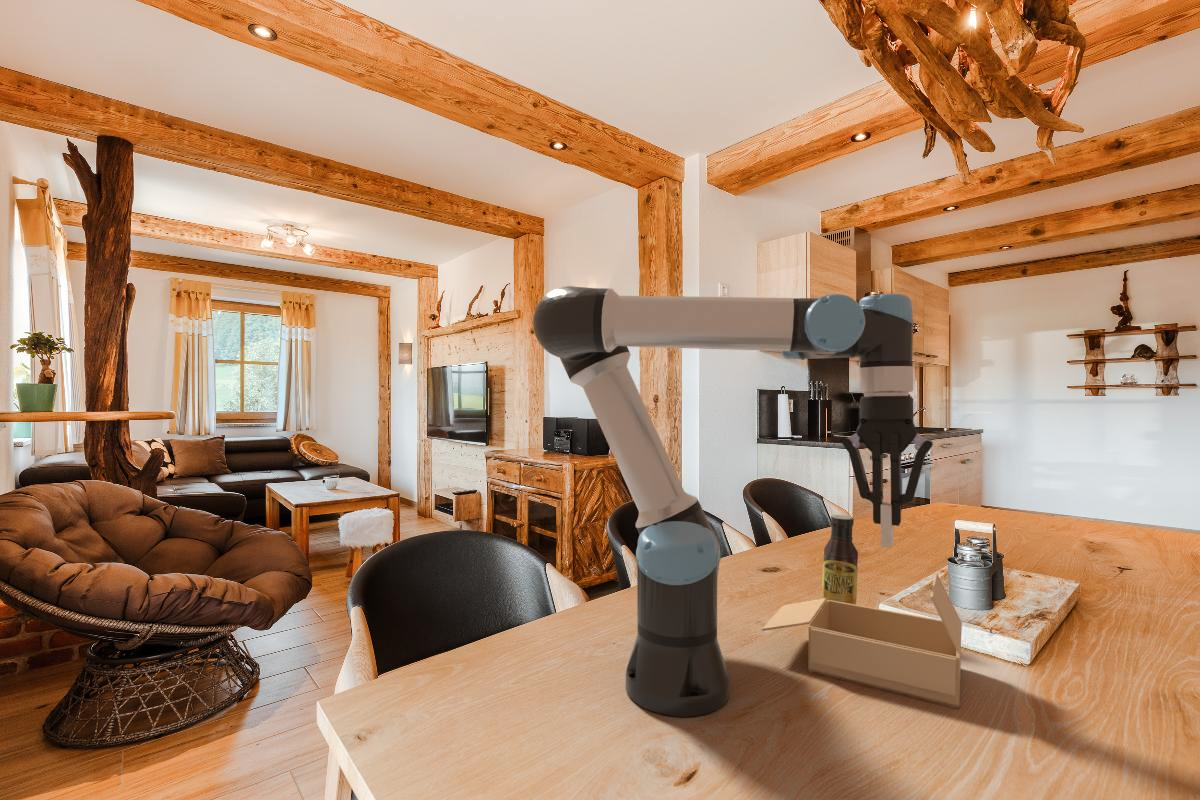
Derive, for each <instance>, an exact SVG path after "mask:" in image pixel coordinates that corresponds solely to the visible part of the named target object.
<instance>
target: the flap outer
mask: <svg viewBox="0 0 1200 800" xmlns="http://www.w3.org/2000/svg"><path fill="white" fill-rule="evenodd" d="M949 596H950V595H948V592H947V591H946V588H945V586H944V584H943V583H942V580H941V578H940V576H939V575H938V572H937V573H934V577H933V583H932V588H931V592H930V599H931V601H932V604H933V606H934V608H935V610H936V611H937V613H938V615H939V617H940V620H942V622H943V624H944V626H945V628H946V630H947V632H948V634H949V636H950V638H951V640H952V642H953V644H954V646H955V648H956V650H957V652H958V654H960V653H961V654H962V646H961V645H962V631H963V630H962V629H963V628H962V627H963V622H962V621H961V618H960V617H959V616H960V615H958V612H957V611H956V609H955V606H954V604H953V602H952V601H951V598H950V597H949Z"/></svg>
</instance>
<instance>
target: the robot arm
mask: <svg viewBox="0 0 1200 800" xmlns="http://www.w3.org/2000/svg"><path fill="white" fill-rule="evenodd" d="M533 313H534V314H533V317H532V319H533V320H532V328H533V332H534V335H535V339H537V342H538V344H540V346H541V347H542V348H543V349H544V350H545V351H546V352H548V353H549V354H550V355H553V356H554V357H557V358H559V359H560V362H561V363H562V366H563V368H564V371H565V372H566V374H567V377H568V379H569V381H570V382H571V383H572V384H575V385H577V386H580V387H582V388H583V391H584V394H585V395H586V398H587V400H588V402H589V405H590V406H591V409H592V411H593V413H594V415H595V418H596V420H597V422H598V424H599V426H600V428H601V432H602V434H603V435H604V437H605V439H606V440H605V441H606V442H607V444H608V447H609V448H610V449H609V450H610V451H611V453H612V455H613V457H614V460H615V462H616V464H617V466H618V468H619V471H620V473H621V476H622V478H623V480H624V481H625V484H626V486H627V489H628V491H629V493H630V495H631V498H632V499H633V501H634V504H635V506H636V508H637V511H638V517H637V520H636V521H635V528H636V529H637V532H638V534H639V536H638V539H637V547H636V551H635V558H636V563H637V566H636V567H637V568H636V570H637V571H636V574H637V577H636V578H637V580H636V585H637V587H636V588H637V589H636V591H637V597H636V598H637V600H636V601H637V602H636V603H637V607H636V608H637V612H636V613H637V614H636V615H637V629H636V630H637V633H636V634H637V635H636V638H635V642H634V644H633V648H632V650H631V654H630V657H629V659H628V662H627V666H626V668H625V669H626V671H625V692H626V694H627V695H628V697H629V698H630V699H631V701H633V702H634V703H635V704H637V705H638V706H640V707H641V708H643V709H646V710H648V711H650V712H654V713H657V714H660V715H664V716H671V717H672V716H673V717H697V716H703V715H706V714H710V713H713V712H716V711H718V710H719V709H721V708H722V707H723V706H725V704H726V703H728V700H729V698H730V695H731V694H730V691H731V689H730V675H729V672H728V668H727V666H726V663H725V659H724V656H723V653H722V648H721V647H720V644H719V640H718V579H719V569H720V568H719V567H720V562H721V559H722V541H721V539H720V535H719V533H718V531H717V529H716V527H715V526H714V525H713V523H712V522H711V521H710V520H709V519H708V517H707V516H706V513H705V512H704V510H703V508H702V505H701V503H700V502H699V499H698V497H697V496H696V495H695V496H694V495H692V494H689V493H687V492H686V491H685V490H684V489H685V488H684V487H683V484H682V483H681V481H680V478H679V477H678V474H677V473H676V471H675V468H674V466H673V463H672V461H671V459H670V457H669V454H668V453H667V451H666V449H665V447H664V443H663V441H662V439H661V437H660V436H659V434H658V431H657V429H656V426H655V424H654V423H653V420H652V418H651V416H650V414H649V412H648V409H647V407H646V405H645V402H644V401H643V399H642V397H641V395H640V393H639V390H638V387H637V385H636V384H635V381H634V379H633V377H632V375H631V373H630V371H629V369H628V363H629V361H630V357H631V352H630V349H629V348H628V347H636V348H637V347H639V348H640V347H641V348H667V349H668V348H669V349H672V348H673V349H674V348H675V349H699V350H700V349H704V350H734V351H735V350H736V351H737V350H740V351H742V350H743V351H765V352H766V351H771V352H781V356H782V357H783V358H785V359H787V360H792V359H794V360H802V361H805V360H808V359H812V360H813V359H817V360H818V359H835V358H837V359H838V358H839V359H840V358H852V359H853V358H858V359H859V392H860V393H861V394H863V396H861V397H860V398H859V424H858V426H857V428H856V432H855V433H854V434H852V435H850V436H849V437H845V438H843V439H842V440H841V443H842V445H843V447H844V448H845V450H846V451H847V453H848V456H849V458H850V462H851V467H852V470H853V473H854V477H855V480H856V481H855V482H856V485H857V489H858V492H859V496H860V498H861V499H863V500H867V501H870V502H871V503H872V521H873V524H876V525H877V524H878V525H880V547H881V548H890V549H891V548H893V546H894V526H896V527H899V526H900V524H901V521H902V505H903V504H906V503H911V502H913V501H914V498H915V495H916V491H917V488H918V484H919V480H920V477H921V473H922V469H923V466H924V462H925V459H926V455H927V454H928V453H929V451H930V450H931V449H932V447H933V446H934V442H933V440H932V439H927V438H925V437H923V436H922V435H920V434H919V433H918V429H917V427H916V425H915V422H914V419H915V417H914V398H913V397H912V396H913V395H912V396H911V395H910V393H913V391H914V366H913V365H914V364H913V350H914V347H913V344H914V341H913V340H914V334H913V333H914V326H915V325H914V324H915V322H914V319H913V317H914V316H913V305H912V300H911V298H910V297H909V296H908V295H906V294H902V293H881V294H872V295H867V296H865V297H862V298H861V299H860V300H859V301H856V300H855V299H854V298H852V297H851V296H849V295H846V294H841V293H832V294H825V295H822V296H821V297H819V298H814V297H813V298H812V297H811V298H809V297H797V298H793V297H749V296H747V297H743V296H742V297H741V296H740V297H739V296H678V295H677V296H675V295H673V296H671V295H669V296H667V295H661V296H660V295H619V294H618V293H617V292H616V291H615V290H614V289H613V288H600V287H599V288H595V287H583V286H582V287H581V286H573V285H572V286H571V285H569V286H568V285H567V286H561V287H557V288H555V289H552V290H551V291H549V292H548V293H545V295H544V296H543V297H542V298H541V299H540V301H539V302H538V303H537V305H536V307H535V310H534V312H533ZM860 440H861V441H862V443H863V444H864V445H865V447H866V448H867V449H868V451H870V452H871V459H872V460H871V462H872V463H871V464H872V465H871V466H872V467H871V471H872V472H871V474H872V476H871V477H872V483H871V485H872V486H871V488H872V489H871V488H870V486H869V482H868V478H867V475H866V471H865V467H864V463H863V460H862V456H861V452H860V449H859V447H860V446H861V442H860ZM913 441H914V443H915V444H914V446H913V447H914V449H915V450H916V453H915V456H914V459H913V462H912V466H911V471H910V475H909V478H908V481H907V485H906V489H905V492H904V493H902V453H904V452H905V451H906V449H907V448H908V447H909V445H911V443H912V442H913ZM884 454H887V455H889V457H890V458H889V460H890V502H886V501H883V500H884V464H883V463H884Z"/></svg>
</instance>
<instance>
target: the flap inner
mask: <svg viewBox="0 0 1200 800" xmlns="http://www.w3.org/2000/svg"><path fill="white" fill-rule="evenodd" d="M826 600H827V599H826V598H823V599H821V598H819V599H817V598H816V599H812V600H807V601H806V600H805V601H800V602H795V603H794V602H793V603H788V604H783V605H782V606H781V607H780V608H779V609H778V610H777V611H776V613H775V614H774V615H773V616H772V617H771V618H770V619H769V620H768V621H767V623H766V624H765V625H764V626H763V627H762V628H761V631H763V632H764V631H771V630H777V629H785V628H790V627H797V626H803V625H804V626H805V625H810V624H811V623H812V621H813V620H814V618H815V617H816V615H817V614H818V613H819V611H820V610H821V607H822V606H823V604H824V603H825V602H826Z"/></svg>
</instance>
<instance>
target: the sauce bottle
mask: <svg viewBox="0 0 1200 800" xmlns="http://www.w3.org/2000/svg"><path fill="white" fill-rule="evenodd" d="M854 523H855V522H854V517H853V516H850V515H845V514H832V515H831V516H830V525H831V534H830V538H829V540H828V541H827V544H826V545H825V546H824V548H823V561H822V579H821V580H822V581H821V596H820V597H821V598H820V599H823V598H826V599H827V600H833V601H838V602H844V603H849V604H855V605H857V594H858V593H857V592H858V591H857V590H858V570H859V567H858V557H859V552H858V550H857V547H856V546H855V544H854V543H853V527H854ZM827 600H826V601H827ZM825 603H826V602H825ZM825 603H824V604H825ZM824 604H823V605H824ZM822 607H823V606H822ZM822 607H821V608H822Z"/></svg>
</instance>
